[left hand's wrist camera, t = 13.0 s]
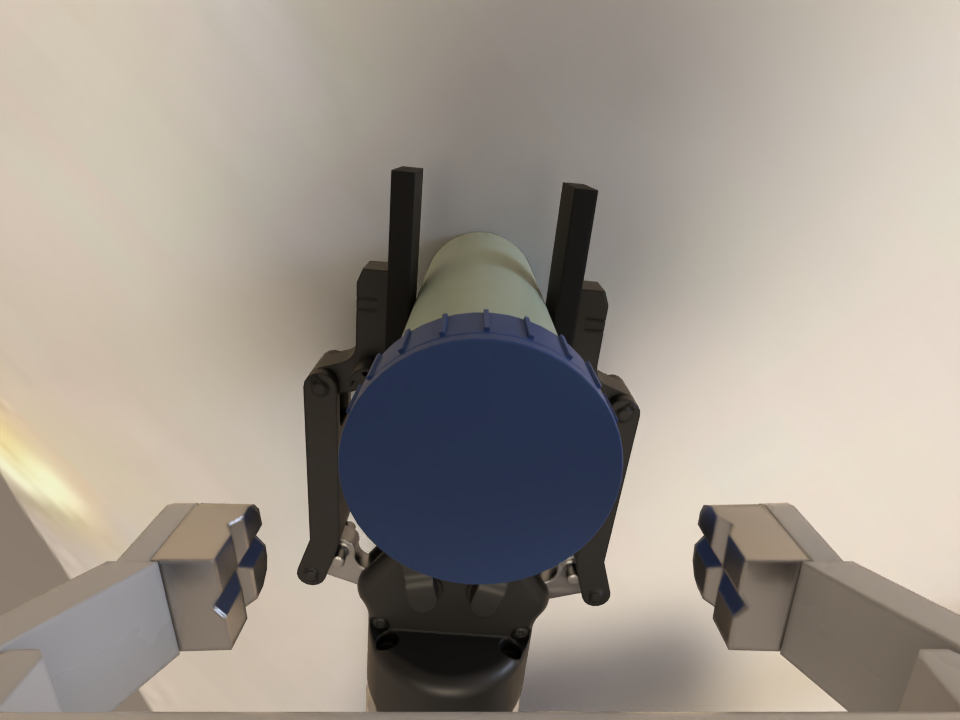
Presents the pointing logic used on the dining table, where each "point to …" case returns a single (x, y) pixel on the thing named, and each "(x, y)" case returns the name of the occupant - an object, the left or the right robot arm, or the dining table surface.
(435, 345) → the lid
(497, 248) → the jar
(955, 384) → the dining table surface
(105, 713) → the left robot arm
